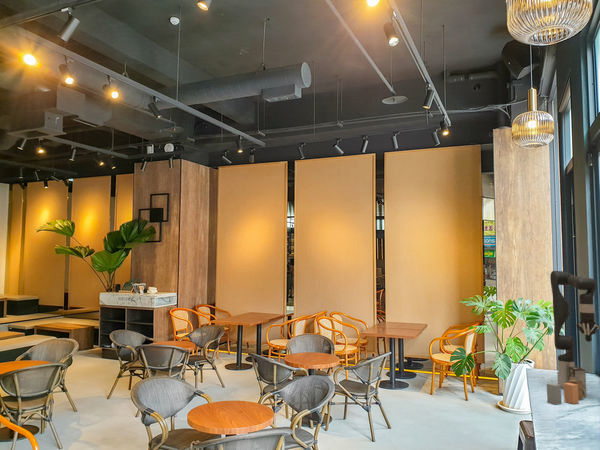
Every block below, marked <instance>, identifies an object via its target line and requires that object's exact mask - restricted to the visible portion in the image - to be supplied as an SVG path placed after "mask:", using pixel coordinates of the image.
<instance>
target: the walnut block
mask: <svg viewBox="0 0 600 450" xmlns="http://www.w3.org/2000/svg"><path fill="white" fill-rule="evenodd" d="M568 383H573V384H577V385H578V399H579V401H580V400H584V397H583V391H582V381H577V380H568Z"/></svg>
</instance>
